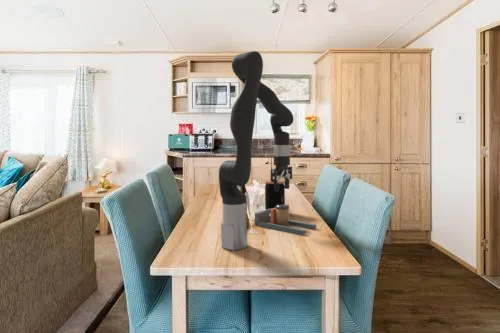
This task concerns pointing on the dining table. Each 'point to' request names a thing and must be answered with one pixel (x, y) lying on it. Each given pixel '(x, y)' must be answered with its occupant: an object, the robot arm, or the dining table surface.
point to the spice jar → (282, 214)
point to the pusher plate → (273, 215)
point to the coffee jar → (274, 194)
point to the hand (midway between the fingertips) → (281, 189)
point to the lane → (264, 218)
